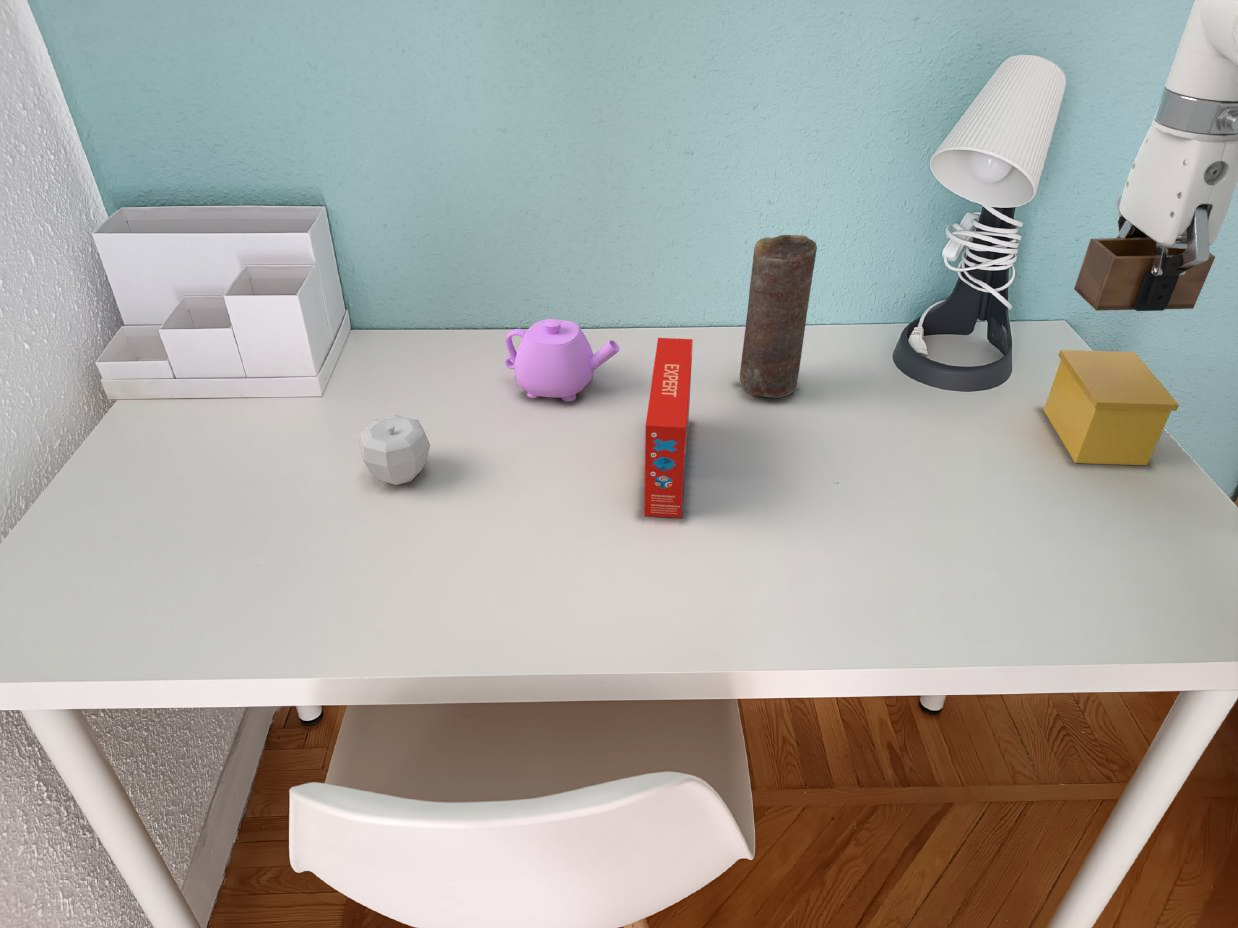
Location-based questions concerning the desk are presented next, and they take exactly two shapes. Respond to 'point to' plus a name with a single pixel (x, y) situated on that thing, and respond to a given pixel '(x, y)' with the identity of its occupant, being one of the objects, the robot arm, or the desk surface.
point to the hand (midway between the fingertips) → (1134, 295)
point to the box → (1108, 407)
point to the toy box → (667, 428)
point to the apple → (394, 449)
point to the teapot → (555, 359)
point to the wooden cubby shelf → (1131, 274)
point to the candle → (777, 314)
